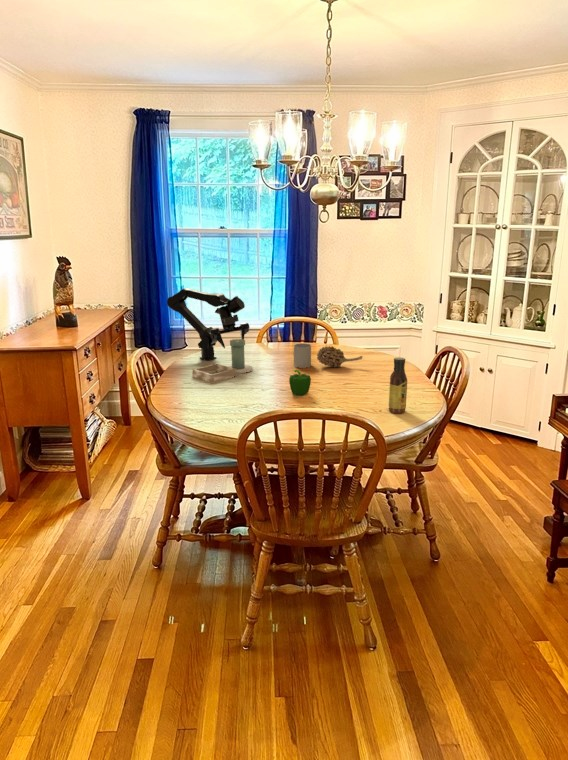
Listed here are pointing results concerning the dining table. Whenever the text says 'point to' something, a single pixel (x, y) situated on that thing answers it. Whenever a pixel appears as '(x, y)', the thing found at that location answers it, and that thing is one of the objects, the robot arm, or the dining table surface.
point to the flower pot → (237, 353)
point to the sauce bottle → (398, 387)
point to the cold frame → (204, 374)
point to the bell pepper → (299, 383)
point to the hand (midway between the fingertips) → (234, 346)
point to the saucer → (246, 369)
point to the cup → (302, 355)
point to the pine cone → (333, 357)
